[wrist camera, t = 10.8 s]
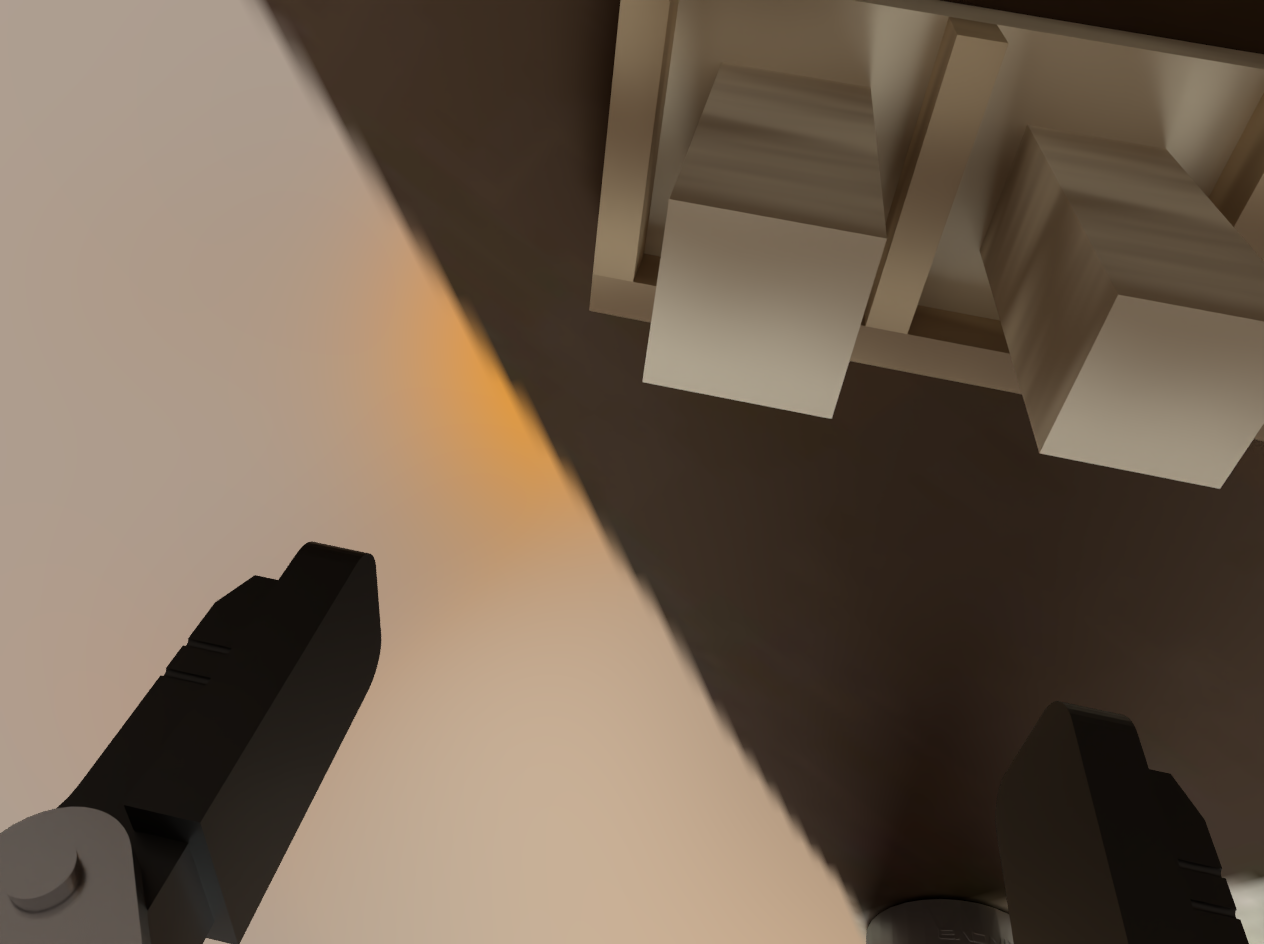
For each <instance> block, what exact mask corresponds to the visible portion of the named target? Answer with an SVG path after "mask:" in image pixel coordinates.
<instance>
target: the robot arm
mask: <svg viewBox="0 0 1264 944" xmlns="http://www.w3.org/2000/svg"><path fill="white" fill-rule="evenodd" d="M380 649H381V628H380V614H379V602H378V588H377V576H376V564H375V560H374V557H373V556H372V555H371V554H369V553H364V552H359V551H354V550H349V549H345V548H340V547H335V546H331V545H326V544H321V543H316V542H308V543H306V544H305V545H304V546H303V547H302V548H301V549H300V550H299V551H298V553H297V554H296V555H295V557H294V558H293V560H292V561H291V563H290V564H289V566H288V567H287V568H286V570H285V571H284V573H283V574H282V576H281V577H280V579H279V580H275V579H270V578H265V577H261V576H256V575H255V576H253V577H252V578H250V579H249V580H247V581H246V582H244V583H243V584H242V585H240V586H239V587H237V588H236V589H234V590H233V591H231V592H230V593H228V594H227V595H226V596H224V597H223V598H221V599H220V600H218V601H217V602H215V603H214V605H213V606H212V607H211V609H210V610H209V612H208V613H207V614H206V615H205V617H204V618H203V619H202V621H201V622H200V623H199V625H198V626H197V628H196V629H195V630H194V631H193V633H192V634H191V635H190V637H189V638H188V643H187V645H186V646H182V648H181V649H180V650H179V652H178V653H177V654H176V656H175V657H174V658H173V660H172V661H171V662H170V664H169V665H168V666H167V668H166V673H165V675H164V676H160V677H159V678H158V680H157V681H156V682H155V684H154V685H153V686H152V688H151V689H150V690H149V692H148V693H147V694H146V696H145V697H144V698H143V700H142V701H141V702H140V704H139V705H138V707H137V708H136V709H135V710H134V712H133V713H132V715H131V716H130V717H129V719H128V720H127V721H126V722H125V724H124V725H123V726H122V728H121V729H120V731H119V732H118V733H117V735H116V736H115V737H114V738H113V740H112V741H111V743H110V744H109V745H108V747H107V748H106V749H105V751H104V752H103V753H102V755H101V756H100V757H99V759H98V760H97V761H96V763H95V764H94V766H93V767H92V768H91V769H90V771H89V772H88V773H87V775H86V776H85V777H84V779H83V780H82V781H81V783H80V784H79V785H78V786H77V788H76V789H75V790H74V791H73V792H72V794H71V795H70V796H69V797H68V798H67V799H66V800H65V801H64V802H63V803H62V804H61V805H59V807H57V808H56V809H52V810H48V811H44V812H41V813H38V814H36V815H33V816H30V817H28V818H26V819H24V820H22V821H20V822H18V823H16V824H14V825H12V826H11V827H9V828H8V829H6V830H4V831H3V832H2V833H0V944H203V942H204V940H205V938H209V939H214V940H218V941H222V942H226V943H230V944H240V942H241V940H242V938H243V936H244V934H245V932H246V930H247V928H248V926H249V924H250V922H251V920H252V918H253V916H254V914H255V912H256V910H257V908H258V906H259V904H260V902H261V900H262V898H263V896H264V894H265V892H266V890H267V888H268V887H269V884H270V883H271V881H272V878H273V877H274V875H275V873H276V871H277V869H278V867H279V865H280V863H281V861H282V859H283V857H284V855H285V853H286V851H287V849H288V847H289V845H290V843H291V841H292V839H293V837H294V835H295V833H296V831H297V829H298V828H299V826H300V823H301V822H302V820H303V818H304V816H305V814H306V812H307V810H308V808H309V806H310V804H311V802H312V800H313V798H314V796H315V794H316V792H317V790H318V788H319V786H320V784H321V782H322V780H323V778H324V776H325V774H326V772H327V770H328V768H329V767H330V765H331V763H332V760H333V758H334V757H335V754H336V753H337V750H338V749H339V747H340V744H341V743H342V741H343V739H344V737H345V735H346V733H347V731H348V729H349V727H350V725H351V723H352V721H353V719H354V717H355V715H356V713H357V711H358V709H359V707H360V706H361V703H362V702H363V700H364V698H365V695H366V694H367V692H368V690H369V687H370V685H371V683H372V680H373V677H374V674H375V672H376V668H377V664H378V660H379V655H380ZM995 819H996V832H997V839H998V845H999V852H1000V858H1001V865H1002V871H1003V877H1004V884H1005V890H1006V897H1007V903H1008V910H1009V914H1007V913H1005V912H1003V911H1000V910H998V909H996V908H992V907H989V906H986V905H982V904H979V903H973V902H967V901H961V900H949V899H930V900H919V901H913V902H907V903H903V904H900V905H897V906H894V907H891V908H889V909H887V910H885V911H883V912H881V913H880V914H879V915H877V916H876V917H875V918H874V919H873V920H872V921H871V923H870V924H869V926H868V928H867V935H866V944H1249V943H1248V940H1247V937H1246V934H1245V932H1244V929H1243V926H1242V923H1241V920H1239V919H1236V917H1235V911H1236V906H1235V903H1234V901H1233V898H1232V895H1231V892H1230V889H1229V887H1228V884H1227V881H1226V879H1225V878H1222V877H1221V870H1222V867H1221V864H1220V861H1219V859H1218V856H1217V853H1216V850H1215V847H1214V845H1213V842H1212V839H1211V836H1210V833H1209V830H1208V828H1207V825H1206V822H1205V820H1204V818H1203V817H1202V816H1201V814H1200V813H1199V812H1198V810H1197V809H1196V808H1195V806H1194V805H1193V803H1192V802H1191V801H1190V799H1189V798H1188V797H1187V795H1186V794H1185V793H1184V791H1183V790H1182V789H1181V787H1180V786H1179V785H1178V783H1177V782H1176V781H1175V779H1174V778H1173V776H1172V775H1171V774H1169V773H1164V772H1159V771H1155V770H1150V769H1149V768H1148V765H1147V762H1146V759H1145V756H1144V752H1143V749H1142V746H1141V743H1140V740H1139V737H1138V734H1137V731H1136V728H1135V726H1134V724H1133V723H1132V721H1131V720H1130V719H1129V718H1128V717H1126V716H1125V715H1121V714H1116V713H1112V712H1107V711H1102V710H1097V709H1093V708H1088V707H1083V706H1078V705H1074V704H1069V703H1064V702H1059V701H1056V702H1053V703H1051V704H1050V705H1049V706H1048V707H1047V708H1046V710H1045V711H1044V713H1043V714H1042V716H1041V717H1040V719H1039V721H1038V722H1037V724H1036V725H1035V727H1034V728H1033V730H1032V732H1031V733H1030V735H1029V736H1028V738H1027V740H1026V741H1025V743H1024V744H1023V746H1022V748H1021V749H1020V751H1019V752H1018V754H1017V756H1016V757H1015V759H1014V760H1013V762H1012V764H1011V765H1010V767H1009V768H1008V770H1007V772H1006V773H1005V775H1004V777H1003V779H1002V782H1001V784H1000V788H999V792H998V796H997V803H996V818H995Z"/></svg>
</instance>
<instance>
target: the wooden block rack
mask: <svg viewBox="0 0 1264 944" xmlns="http://www.w3.org/2000/svg"><path fill="white" fill-rule="evenodd" d="M722 62H725V63H731V64H737V65H743V66H748V67H754V68H760V69H766V70H772V71H778V72H784V73H789V74H795V75H801V76H807V77H813V78H819V79H824V80H830V81H836V82H842V83H848V84H854V85H860V86H865V87H871V95H872V104H873V114H874V123H875V132H876V142H877V151H878V160H879V169H880V179H881V188H882V197H883V207H884V216H885V225H886V234H887V240H886V243H885V247H884V250H883V253H882V256H881V260H880V263H879V266H878V269H877V273H876V276H875V279H874V282H873V286H872V289H871V292H870V295H869V299H868V302H867V305H866V308H865V312H864V315H863V318H862V322H861V325H860V328H859V331H858V335H857V338H856V341H855V344H854V348H853V351H852V354H851V357H850V361H853V362H858V363H863V364H868V365H873V366H878V367H884V368H889V369H894V370H899V371H904V372H909V373H915V374H920V375H925V376H930V377H935V378H940V379H946V380H951V381H956V382H961V383H966V384H972V385H977V386H982V387H987V388H992V389H997V390H1003V391H1008V392H1013V393H1018V394H1022V396H1023V399H1024V403H1025V406H1026V409H1027V413H1028V416H1029V420H1030V423H1031V426H1032V430H1033V433H1034V436H1035V440H1036V443H1037V447H1038V450H1039V453H1041V454H1046V455H1051V456H1056V457H1061V458H1066V459H1071V460H1076V461H1081V462H1086V463H1091V464H1096V465H1102V466H1107V467H1112V468H1117V469H1122V470H1127V471H1132V472H1137V473H1142V474H1147V475H1152V476H1157V477H1162V478H1168V479H1173V480H1178V481H1183V482H1188V483H1193V484H1198V485H1203V486H1208V487H1213V488H1218V489H1220V488H1221V487H1222V485H1223V484H1224V482H1225V481H1226V479H1227V478H1228V476H1229V475H1230V473H1231V472H1232V470H1233V469H1234V467H1235V466H1236V464H1237V463H1238V461H1239V460H1240V458H1241V457H1242V455H1243V454H1244V452H1245V451H1246V449H1247V448H1248V446H1249V445H1250V443H1251V442H1252V440H1253V439H1256V440H1261V441H1264V54H1258V53H1252V52H1246V51H1240V50H1234V49H1228V48H1222V47H1216V46H1210V45H1204V44H1198V43H1192V42H1186V41H1180V40H1174V39H1168V38H1162V37H1156V36H1150V35H1144V34H1138V33H1132V32H1126V31H1120V30H1114V29H1108V28H1102V27H1096V26H1090V25H1084V24H1078V23H1072V22H1066V21H1060V20H1054V19H1048V18H1042V17H1036V16H1030V15H1025V14H1019V13H1013V12H1007V11H1001V10H995V9H989V8H983V7H977V6H971V5H965V4H959V3H953V2H947V1H941V0H621V1H620V11H619V21H618V31H617V41H616V50H615V60H614V70H613V80H612V90H611V100H610V110H609V120H608V130H607V140H606V149H605V159H604V169H603V179H602V189H601V199H600V209H599V219H598V229H597V239H596V248H595V258H594V268H593V278H592V288H591V298H590V308H589V311H594V312H599V313H604V314H609V315H614V316H620V317H625V318H630V319H635V320H640V321H645V322H651V320H652V313H653V306H654V300H655V293H656V286H657V279H658V272H659V265H660V259H661V252H662V245H663V238H664V231H665V224H666V218H667V211H668V204H669V198H670V196H671V193H672V191H673V188H674V185H675V183H676V180H677V178H678V175H679V172H680V170H681V167H682V165H683V162H684V159H685V157H686V154H687V152H688V149H689V146H690V144H691V141H692V139H693V136H694V133H695V131H696V128H697V126H698V123H699V120H700V118H701V115H702V113H703V110H704V107H705V105H706V102H707V100H708V97H709V94H710V92H711V89H712V87H713V84H714V81H715V79H716V76H717V74H718V71H719V68H720V66H721V63H722Z"/></svg>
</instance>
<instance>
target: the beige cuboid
mask: <svg viewBox="0 0 1264 944" xmlns="http://www.w3.org/2000/svg"><path fill="white" fill-rule="evenodd" d="M886 240H887V234H886V225H885V216H884V207H883V197H882V188H881V179H880V169H879V160H878V151H877V142H876V132H875V123H874V114H873V104H872V95H871V87H865V86H860V85H854V84H848V83H842V82H836V81H830V80H824V79H819V78H813V77H807V76H801V75H795V74H789V73H784V72H778V71H772V70H766V69H760V68H754V67H748V66H743V65H737V64H731V63H725V62H722V63H721V66H720V68H719V71H718V74H717V76H716V79H715V81H714V84H713V87H712V89H711V92H710V94H709V97H708V100H707V102H706V105H705V107H704V110H703V113H702V115H701V118H700V120H699V123H698V126H697V128H696V131H695V133H694V136H693V139H692V141H691V144H690V146H689V149H688V152H687V154H686V157H685V159H684V162H683V165H682V167H681V170H680V172H679V175H678V178H677V180H676V183H675V185H674V188H673V191H672V193H671V196H670V198H669V204H668V211H667V218H666V224H665V231H664V238H663V245H662V252H661V259H660V265H659V272H658V279H657V286H656V293H655V300H654V306H653V313H652V320H651V327H650V334H649V341H648V347H647V354H646V361H645V368H644V375H643V382H645V383H650V384H655V385H660V386H666V387H671V388H676V389H681V390H686V391H691V392H696V393H701V394H707V395H712V396H717V397H722V398H727V399H732V400H737V401H742V402H748V403H753V404H758V405H763V406H768V407H773V408H778V409H783V410H789V411H794V412H799V413H804V414H809V415H814V416H819V417H824V418H830V419H832V416H833V413H834V409H835V406H836V403H837V400H838V396H839V393H840V390H841V387H842V383H843V380H844V377H845V374H846V370H847V367H848V364H849V361H850V357H851V354H852V351H853V348H854V344H855V341H856V338H857V335H858V331H859V328H860V325H861V322H862V318H863V315H864V312H865V308H866V305H867V302H868V299H869V295H870V292H871V289H872V286H873V282H874V279H875V276H876V273H877V269H878V266H879V263H880V260H881V256H882V253H883V250H884V247H885V243H886Z"/></svg>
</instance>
